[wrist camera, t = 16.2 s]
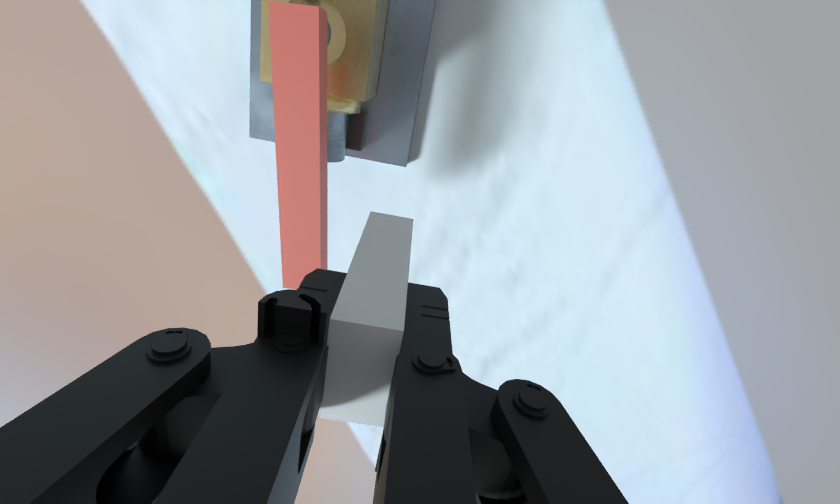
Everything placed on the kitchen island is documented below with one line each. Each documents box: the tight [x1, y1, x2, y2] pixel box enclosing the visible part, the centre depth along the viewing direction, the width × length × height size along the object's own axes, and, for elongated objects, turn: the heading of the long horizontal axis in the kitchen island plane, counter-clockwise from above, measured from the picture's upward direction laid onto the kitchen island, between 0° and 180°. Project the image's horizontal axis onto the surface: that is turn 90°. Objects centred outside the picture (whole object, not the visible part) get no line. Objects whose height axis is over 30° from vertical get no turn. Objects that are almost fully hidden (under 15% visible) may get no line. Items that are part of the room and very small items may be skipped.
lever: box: [268, 1, 331, 289], centre depth 26 cm, size 17×3×4 cm, turn 175°
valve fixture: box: [250, 0, 435, 167], centre depth 29 cm, size 18×14×10 cm
